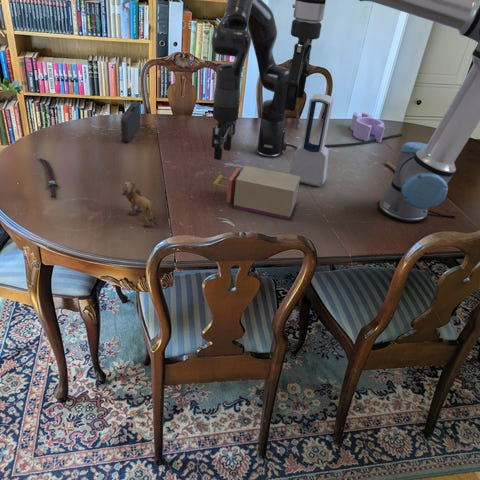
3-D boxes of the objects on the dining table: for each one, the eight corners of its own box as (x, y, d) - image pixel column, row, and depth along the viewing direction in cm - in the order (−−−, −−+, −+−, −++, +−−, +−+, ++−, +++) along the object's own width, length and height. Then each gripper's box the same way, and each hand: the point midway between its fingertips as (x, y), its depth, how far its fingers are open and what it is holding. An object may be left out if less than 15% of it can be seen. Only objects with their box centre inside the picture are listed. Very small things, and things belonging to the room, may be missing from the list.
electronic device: (325, 180, 169) (342, 97, 152) (321, 188, 163) (339, 103, 146) (292, 173, 172) (306, 91, 155) (287, 181, 165) (301, 96, 149)
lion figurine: (118, 210, 138) (116, 182, 133) (132, 204, 141) (131, 177, 137) (151, 229, 130) (150, 201, 126) (165, 223, 134) (165, 195, 129)
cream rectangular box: (233, 207, 146) (236, 179, 141) (242, 192, 155) (245, 165, 150) (289, 219, 143) (294, 191, 137) (295, 203, 152) (300, 176, 147)
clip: (343, 126, 223) (346, 112, 219) (367, 127, 225) (371, 113, 221) (360, 142, 206) (364, 127, 202) (386, 142, 209) (390, 127, 205)
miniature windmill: (297, 129, 213) (308, 60, 197) (278, 126, 214) (288, 57, 198) (299, 122, 221) (309, 56, 205) (281, 120, 222) (290, 53, 206)
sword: (61, 197, 141) (61, 193, 140) (50, 198, 139) (50, 194, 139) (49, 160, 164) (48, 156, 163) (39, 160, 163) (39, 157, 162)
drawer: (209, 198, 147) (211, 176, 143) (219, 185, 156) (221, 164, 151) (277, 213, 143) (281, 190, 139) (283, 199, 152) (287, 177, 147)
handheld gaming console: (134, 123, 200) (133, 100, 195) (140, 124, 200) (140, 100, 195) (121, 142, 181) (119, 117, 175) (128, 143, 181) (127, 118, 175)
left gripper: (222, 94, 142) (218, 144, 151) (205, 106, 131) (202, 160, 139) (246, 98, 141) (240, 149, 149) (230, 111, 129) (226, 165, 138)
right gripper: (300, 13, 129) (289, 90, 141) (283, 24, 109) (271, 113, 120) (327, 17, 128) (313, 94, 140) (315, 28, 108) (300, 118, 119)
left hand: (222, 154), depth 144 cm, fingers open, 8 cm apart
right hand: (294, 103), depth 130 cm, fingers open, 13 cm apart
